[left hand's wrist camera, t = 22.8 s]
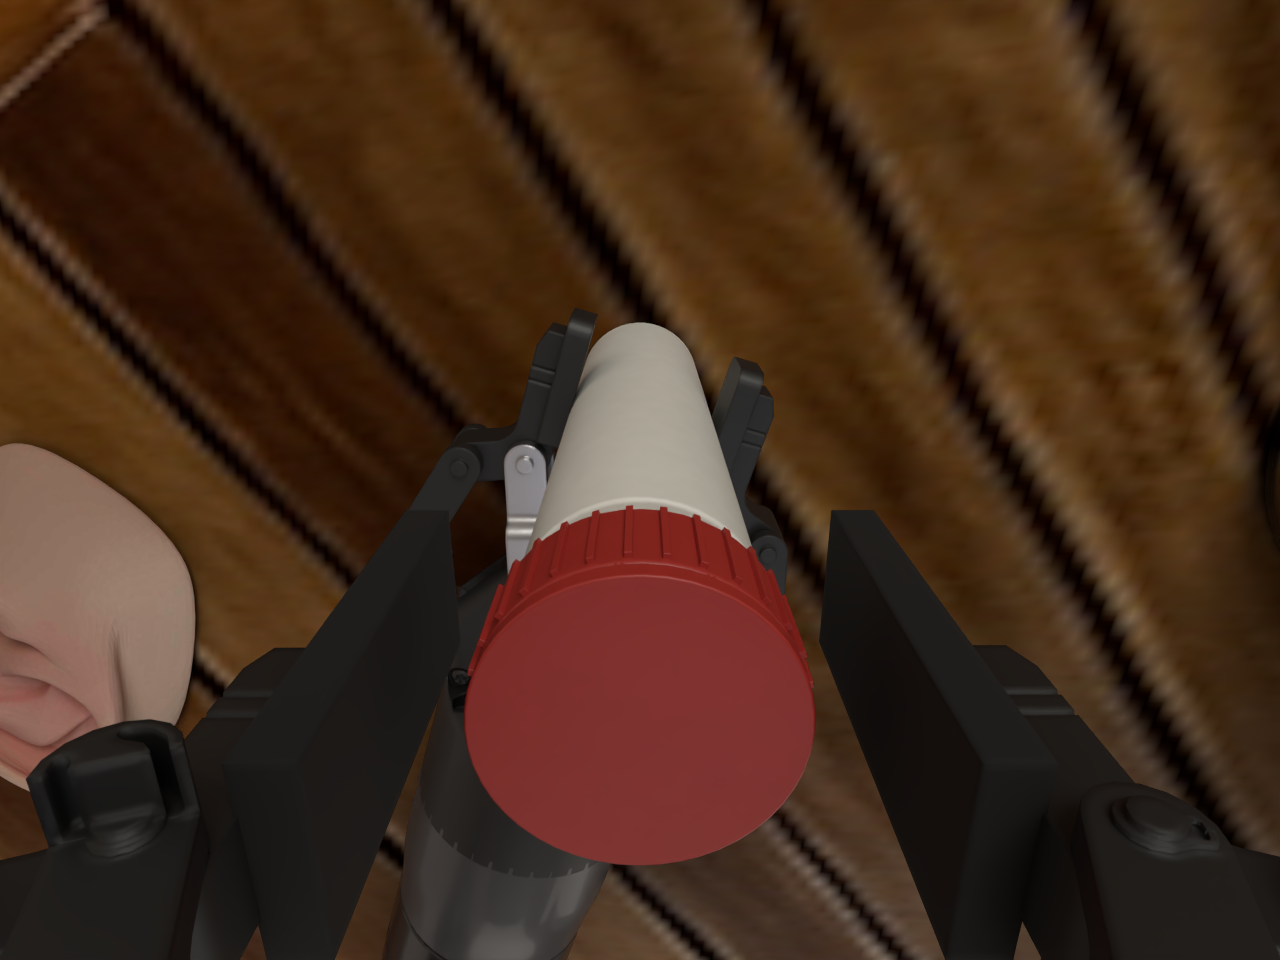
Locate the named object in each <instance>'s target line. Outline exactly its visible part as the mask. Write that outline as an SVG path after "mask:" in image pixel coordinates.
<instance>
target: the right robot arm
mask: <svg viewBox="0 0 1280 960" xmlns="http://www.w3.org/2000/svg"><path fill="white" fill-rule="evenodd" d="M597 316H598V314H595V313H591V312H588V311H585V310H581V309H578V308H575V309H574V311H573V313H572V315H571V317H570V321H569V324H568V326H564V325H561V324H558V323H554V322H553V324H552V325H551V326H550V328H549V329H548V330H547V332H546V333H545V334H544V336H543V337H542V339H541V340H540V342H539V343H538V345H537V347H536V351H535V355H534V359H533V363H532V367H531V370H530V374H529V379H528V382H527V386H526V390H525V394H524V398H523V402H522V406H521V410H520V414H519V418H518V421H517V422H516V423H514V424H513V425H511V426H508V427H503V428H486V427H485V426H483V425H480V424H470V425H467V426H465V427H463V428H462V429H461V431H460V432H459V433H458V435H457V436H456V437H455V439H454V441H453V442H452V444H451V446H450V447H448V448H447V449H446V451H445V452H444V453H443V455H442V456H441V457H440V459H439V461H438V462H437V464H436V466H435V467H434V469H433V471H432V472H431V474H430V475H429V477H428V479H427V480H426V482H425V484H424V485H423V487H422V489H421V490H420V492H419V493H418V495H417V497H416V498H415V500H414V502H413V503H412V505H411V507H410V508H409V510H448V511H449V521H451V520H452V518H453V517H454V515H455V513H456V512H457V510H458V509H459V507H460V506H461V504H462V502H463V501H464V499H465V498H466V496H467V495H468V493H469V491H470V490H471V488H472V487H473V485H474V484H475V482H476V481H494V480H505V489H506V504H507V525H506V554H505V555H503V556H502V557H501V558H499V559H498V560H497V561H495V562H494V563H492V564H491V565H490V566H488V567H487V568H485V569H484V570H483V571H481V572H480V573H479V574H477V575H476V576H474V577H473V578H472V579H470V580H469V581H467V582H466V583H465V584H463V585H462V586H461V587H460V586H459V585H457V584H456V583H455V585H456V596H457V607H458V617H459V628H460V639H461V642H460V645H459V647H458V650H457V652H456V655H455V657H454V660H453V662H452V665H451V667H450V670H449V673H448V675H447V678H446V680H445V683H444V685H443V688H442V690H441V693H440V697H439V701H438V705H437V709H436V713H435V717H434V721H433V725H432V729H431V733H430V737H429V741H428V745H427V749H426V753H425V756H424V761H423V765H422V768H421V770H420V773H419V777H418V785H417V789H416V793H415V797H414V800H413V804H412V808H411V812H410V816H409V821H408V826H407V832H406V838H405V848H404V865H403V872H402V876H401V880H400V884H399V887H398V891H397V895H396V899H395V903H394V907H393V911H392V915H391V919H390V923H389V927H388V931H387V936H386V941H385V945H384V950H383V956H382V960H567V958H568V955H569V953H570V950H571V947H572V945H573V942H574V939H575V937H576V934H577V931H578V929H579V927H580V924H581V922H582V920H583V918H584V917H585V915H586V913H587V912H588V910H589V909H590V907H591V905H592V904H593V902H594V900H595V898H596V897H597V895H598V893H599V891H600V888H601V886H602V884H603V882H604V879H605V877H606V874H607V872H608V869H609V867H610V864H611V863H606V862H600V861H594V860H591V859H587V858H583V857H580V856H576V855H573V854H570V853H568V852H565V851H563V850H560V849H557V848H555V847H553V846H551V845H549V844H547V843H545V842H543V841H542V840H540V839H538V838H536V837H535V836H533V835H532V834H530V833H529V832H527V831H526V830H524V829H523V828H521V827H520V826H519V825H518V824H516V823H515V822H514V821H513V820H512V819H511V818H510V817H508V816H507V815H506V814H505V813H504V812H503V811H502V810H501V808H500V807H499V806H498V805H497V804H496V803H495V802H494V801H493V800H492V798H491V797H490V795H489V794H488V792H487V791H486V789H485V788H484V786H483V785H482V783H481V782H480V779H479V777H478V775H477V773H476V771H475V769H474V767H473V765H472V761H471V758H470V755H469V752H468V749H467V745H466V738H465V732H464V706H465V698H466V693H467V689H468V686H469V683H470V680H471V676H468V675H467V672H468V668H469V665H470V662H471V660H472V657H473V654H474V651H475V648H476V646H477V642H478V639H479V636H480V634H481V631H482V628H483V625H484V622H485V620H486V617H487V614H488V611H489V609H490V606H491V603H492V600H493V597H494V595H495V592H496V589H497V587H498V585H499V584H501V585H505V583H506V580H507V577H508V574H509V571H510V569H511V566H512V563H513V562H514V561H515V559H517V560H519V561H521V560H522V559H523V558H524V556H525V553H526V550H527V547H528V543H529V540H530V537H531V534H532V531H533V527H534V524H535V521H536V518H537V515H538V512H539V508H540V505H541V502H542V499H543V496H544V493H545V489H546V486H547V483H548V480H549V477H550V474H551V470H552V467H553V464H554V461H555V448H559V445H560V442H561V439H562V436H563V432H564V429H565V426H566V423H567V420H568V417H569V414H570V411H571V408H572V405H573V402H574V398H575V395H576V392H577V388H578V385H579V381H580V377H581V374H582V370H583V367H584V363H585V359H586V356H587V352H588V349H589V345H590V341H591V338H592V334H593V331H594V327H595V323H596V320H597ZM763 380H764V373H763V371H762V370H761V368H760V367H759V366H758V364H757V363H754V362H751V361H748V360H744V359H741V358H738V357H734V358H733V360H732V362H731V364H730V366H729V369H728V372H727V375H726V377H725V380H724V383H723V386H722V389H721V392H720V395H719V398H718V400H717V403H716V406H715V409H714V412H713V415H712V421H713V424H714V428H715V431H716V434H717V437H718V440H719V443H720V447H721V450H722V453H723V456H724V459H725V463H726V466H727V469H728V472H729V475H730V478H731V482H732V485H733V488H734V491H735V494H736V498H737V501H738V504H739V507H740V510H741V513H742V517H743V520H744V523H745V526H746V529H747V533H748V536H749V539H750V542H751V545H752V548H753V549H755V552H756V555H757V558H758V561H759V562H760V563H761V564H762V565H763V567H764V568H765V570H766V571H768V570H769V569H772V571H773V572H774V574H775V577H776V580H777V583H778V586H779V588H780V591H781V594H782V595H785V586H786V572H787V558H788V550H787V547H786V544H785V542H784V539H783V537H782V534H781V532H780V529H779V527H778V525H777V522H776V520H775V517H774V515H773V513H772V512H771V510H769V509H768V508H767V507H765V506H761V505H757V504H755V503H754V502H753V501H751V500H750V499H748V498H747V497H746V496H745V492H746V489H747V486H748V483H749V481H750V478H751V475H752V473H753V470H754V467H755V465H756V462H757V459H758V457H759V454H760V451H761V448H762V446H763V443H764V441H765V438H766V434H767V433H768V430H769V427H770V425H771V422H772V420H773V417H774V412H773V397H772V396H771V394H770V393H769V391H768V390H767V388H766V387H765V386H762V385H763ZM452 553H453V551H452ZM453 559H454V554H453Z"/></svg>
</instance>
